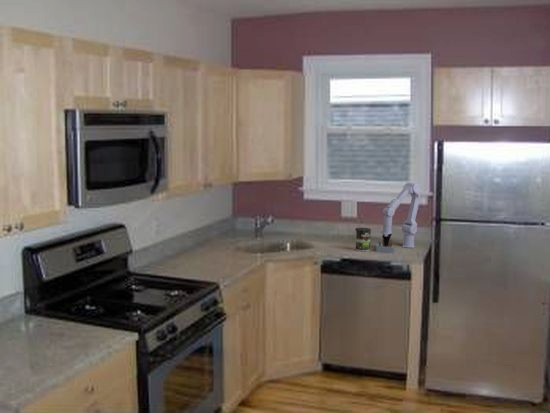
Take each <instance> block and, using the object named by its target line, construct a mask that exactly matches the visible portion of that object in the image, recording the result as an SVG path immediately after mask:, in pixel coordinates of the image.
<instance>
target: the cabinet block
mask: <svg viewBox="0 0 550 413" xmlns="http://www.w3.org/2000/svg"><path fill="white" fill-rule="evenodd" d="M381 244H382V245H381V247H393V239H390V240H389V243H388V246H384V240H383V239H382V241H381Z"/></svg>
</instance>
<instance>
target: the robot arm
mask: <svg viewBox="0 0 550 413" xmlns="http://www.w3.org/2000/svg"><path fill="white" fill-rule="evenodd" d="M421 190H422V187H421V186H420V184H418V183H413V182H406V183H405V184H404V186H403V188H402V190H401V191H400V192H399V193H398V195H397V197H396V198H394V199H392V200H391V201H390V203H389V204H388V205H387V206H385V207H384V208H383V209H382V211H381V214H382V218H383V222H382V226H383V227H382V230H381V232H380V233H382V234H383V235H381V236H382V241H383V240H384V246H388V243H389V240H391V236H392V235H393V234H392V233H393V232H392V226H393V217H394V215H395V212H396V210H397V209H398V208H399V206H400V205H401V202H402V201H403V200H404V198H406V196H407V195H410V196H411V200H410V204H409V207H408V208H409V209H408V214H407V219H406V220H404V222H403V224H402V226H401V230H402V232H403V242H402V243H403V244H402V248H410V249H414V248H415V245H416V244H415V235H416V234H417V233H418V223H417V222H416V219H417V215H418V214H417V213H418V210H419V205H420V200H421V197H422V196H421V192H422V191H421Z"/></svg>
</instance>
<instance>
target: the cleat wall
mask: <svg viewBox="0 0 550 413" xmlns="http://www.w3.org/2000/svg"><path fill="white" fill-rule="evenodd" d="M381 244H382V241H381V240H378V241H377V242H376V244H375V252H378V253H386V254H387V253H388V254H389V253H391V254H394V252H395V247H393V246H392V247H382V245H381Z"/></svg>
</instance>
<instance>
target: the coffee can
mask: <svg viewBox="0 0 550 413" xmlns="http://www.w3.org/2000/svg"><path fill="white" fill-rule="evenodd" d="M371 231H372V229H371V228H368V227H356V228H355V232H354V233H355V234H354V235H355V236H354V250H355V251H359V252H369V251H371V249H370V248H371V234H372V233H371Z"/></svg>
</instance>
